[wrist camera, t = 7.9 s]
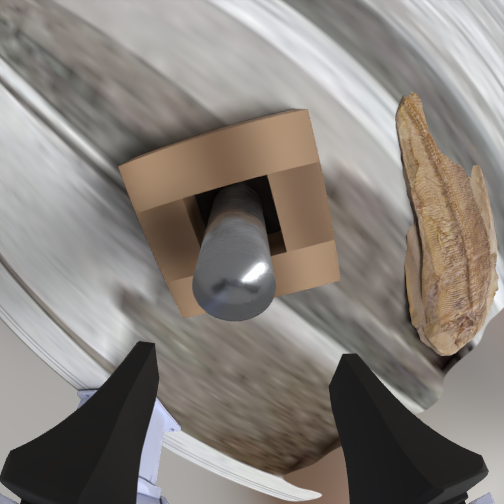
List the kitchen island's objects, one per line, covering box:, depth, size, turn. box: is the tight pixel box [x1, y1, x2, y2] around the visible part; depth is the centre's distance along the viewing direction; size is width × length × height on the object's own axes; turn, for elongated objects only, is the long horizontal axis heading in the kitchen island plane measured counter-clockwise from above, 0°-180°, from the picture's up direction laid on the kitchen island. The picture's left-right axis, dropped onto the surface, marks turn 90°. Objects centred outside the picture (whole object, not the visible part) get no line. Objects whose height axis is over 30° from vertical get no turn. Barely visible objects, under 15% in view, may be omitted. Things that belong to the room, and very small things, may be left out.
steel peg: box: [192, 184, 276, 321], centre depth 15 cm, size 3×3×9 cm
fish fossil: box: [396, 91, 499, 356], centre depth 21 cm, size 26×10×1 cm, turn 31°
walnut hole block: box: [118, 109, 340, 318], centre depth 18 cm, size 10×10×3 cm
